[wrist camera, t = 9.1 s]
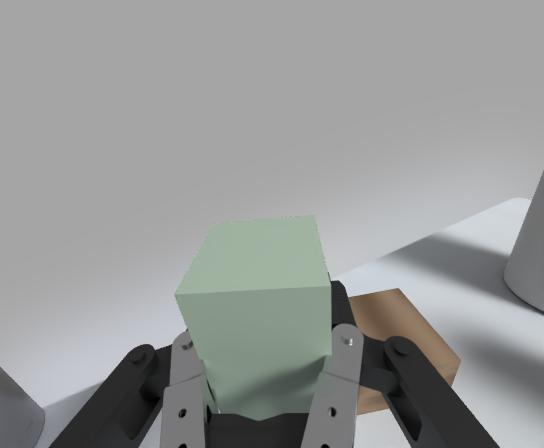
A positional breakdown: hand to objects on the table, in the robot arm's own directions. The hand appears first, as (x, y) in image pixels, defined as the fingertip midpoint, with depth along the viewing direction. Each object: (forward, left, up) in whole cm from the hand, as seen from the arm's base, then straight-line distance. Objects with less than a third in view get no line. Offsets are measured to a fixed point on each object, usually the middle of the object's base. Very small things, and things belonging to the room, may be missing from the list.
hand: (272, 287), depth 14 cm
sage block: (0, -3, -6) cm, 7 cm away
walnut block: (+10, +8, -20) cm, 24 cm away
